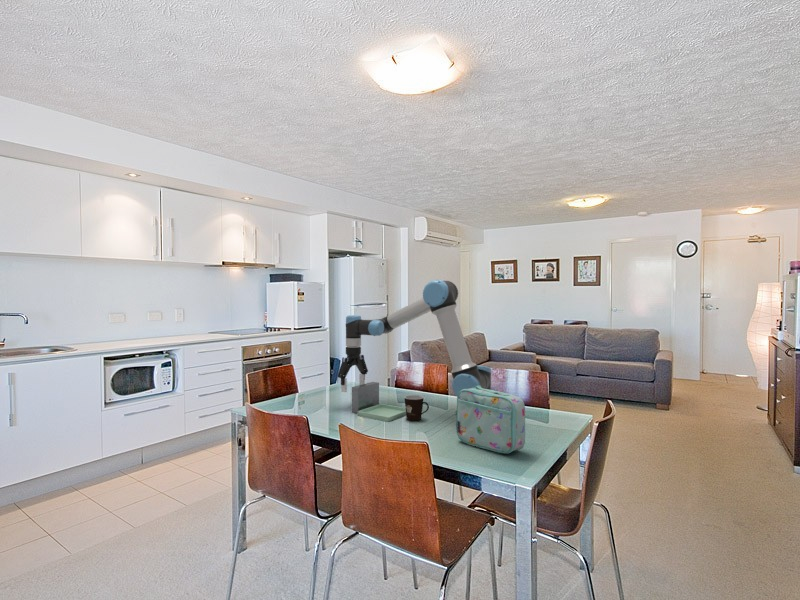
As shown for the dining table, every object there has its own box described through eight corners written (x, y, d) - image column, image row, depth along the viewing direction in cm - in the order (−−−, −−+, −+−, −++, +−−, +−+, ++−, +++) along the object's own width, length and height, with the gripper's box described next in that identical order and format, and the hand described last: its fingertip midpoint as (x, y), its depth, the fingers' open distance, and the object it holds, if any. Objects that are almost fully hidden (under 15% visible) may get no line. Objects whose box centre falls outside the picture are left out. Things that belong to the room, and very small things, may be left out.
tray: (411, 413, 208) (411, 409, 208) (388, 422, 193) (388, 417, 193) (381, 407, 218) (381, 403, 218) (357, 415, 203) (357, 411, 203)
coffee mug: (401, 418, 199) (401, 396, 199) (418, 416, 203) (418, 394, 203) (412, 425, 189) (412, 401, 189) (430, 422, 192) (430, 399, 192)
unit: (379, 406, 220) (379, 382, 220) (358, 413, 207) (358, 388, 207) (372, 405, 223) (372, 381, 222) (351, 412, 209) (351, 386, 209)
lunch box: (450, 441, 168) (450, 384, 168) (466, 435, 176) (467, 381, 175) (512, 459, 149) (512, 396, 149) (527, 452, 157) (528, 391, 156)
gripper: (363, 343, 231) (363, 384, 232) (330, 348, 211) (330, 392, 211) (374, 344, 227) (374, 386, 227) (341, 349, 207) (341, 394, 207)
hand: (353, 389), depth 219 cm, fingers open, 13 cm apart
